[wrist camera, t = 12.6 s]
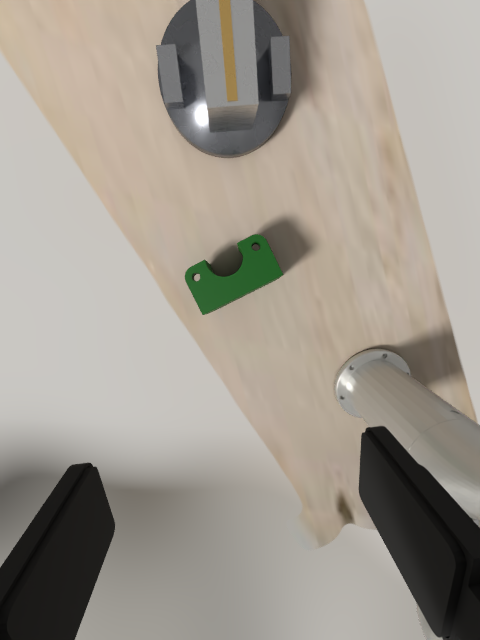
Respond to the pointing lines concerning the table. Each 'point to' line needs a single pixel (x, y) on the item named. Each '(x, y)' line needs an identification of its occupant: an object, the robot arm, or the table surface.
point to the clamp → (234, 276)
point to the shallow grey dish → (189, 89)
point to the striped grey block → (228, 63)
